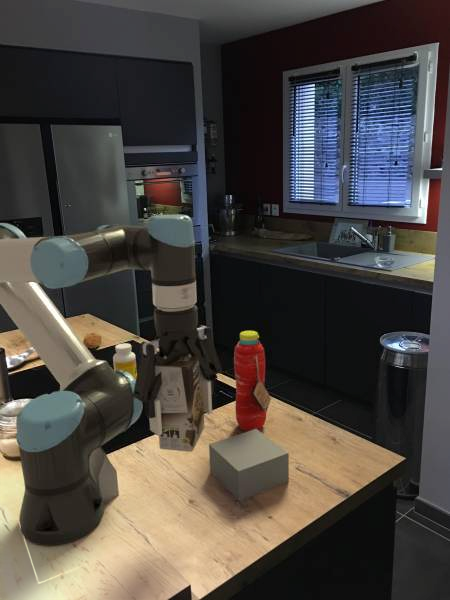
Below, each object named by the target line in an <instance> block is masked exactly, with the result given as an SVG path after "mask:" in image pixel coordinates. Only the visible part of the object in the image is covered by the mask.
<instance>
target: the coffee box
mask: <svg viewBox="0 0 450 600" xmlns="http://www.w3.org/2000/svg"><path fill="white" fill-rule="evenodd" d="M198 349H199V351H200V354H201V355H202V349H200V348H198ZM164 358H165V359H166V358H167V357H166V356H165V355H164ZM154 365H155V364H154ZM160 372H161V375H162V385H161V387H160V390H159V392H158V395H157V397H156V398H157V399H159V400H160V408H161V423H162V434H161V435H159V436H158V440H159V449H160V450H168V451H169V450H170V451H178V452H189V453H192V452H193V451H194V449H195V447H196V445H197V443H198V441H199V439H200V438H201V436H202V434H203V431H204V429H205V412H204V406H203V386H202V377H203V376H202V370H201V367H200V364H199V357H198V355H197V356H194V355H192V354H190V353H189V355H188V356H181V357H180V358H178V359H175V360H174V361H173V363H172V364H167V365H162V364H160V363H157V364H156V365H155V376H157V375H158V374H159V373H160Z"/></svg>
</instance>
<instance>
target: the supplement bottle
mask: <svg viewBox="0 0 450 600" xmlns="http://www.w3.org/2000/svg"><path fill="white" fill-rule="evenodd" d="M114 349H115V352H116V353H114V354H113V356H112V361H113V370H114V371H115V370H123V371H124V372H128V373H130V374H131V375H132V376H133V377H134V378H135V379H136V378H137V373H138V370H137V361H136V360H137V359H136V354H135V352H132V345H131V344H130V343H125V342H124V343H119V344H117V345H115V348H114Z"/></svg>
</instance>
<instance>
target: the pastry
mask: <svg viewBox="0 0 450 600" xmlns="http://www.w3.org/2000/svg"><path fill="white" fill-rule="evenodd" d="M82 342H83V344H84V345H85V346H86V347H87V349H88V348H90V349H97V348H96V347H98V346H99V345H100V344H101V345H102V342H103V341H102V337H101V335H100V334H98V333H96V332H91V333H89V334H87V335H85V337H84V339H83V341H82ZM101 345H100V346H101ZM100 346H99V347H100ZM99 347H98V348H99Z"/></svg>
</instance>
